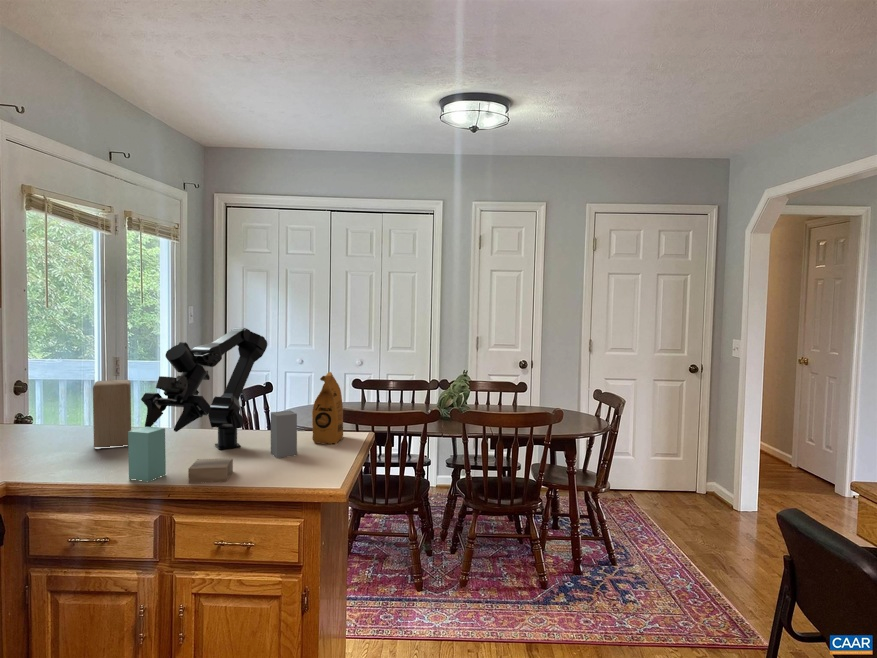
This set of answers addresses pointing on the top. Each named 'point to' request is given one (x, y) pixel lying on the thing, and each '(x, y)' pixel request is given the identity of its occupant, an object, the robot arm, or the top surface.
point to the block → (111, 412)
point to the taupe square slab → (210, 470)
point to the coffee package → (328, 412)
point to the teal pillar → (146, 453)
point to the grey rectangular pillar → (283, 434)
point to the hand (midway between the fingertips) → (160, 429)
